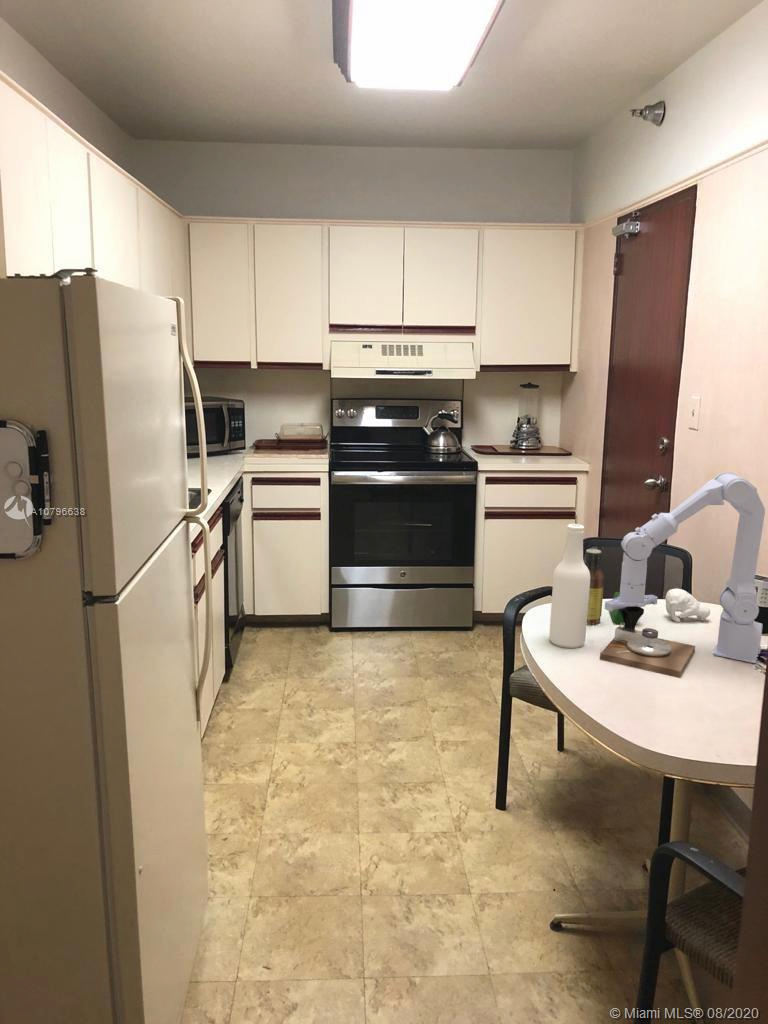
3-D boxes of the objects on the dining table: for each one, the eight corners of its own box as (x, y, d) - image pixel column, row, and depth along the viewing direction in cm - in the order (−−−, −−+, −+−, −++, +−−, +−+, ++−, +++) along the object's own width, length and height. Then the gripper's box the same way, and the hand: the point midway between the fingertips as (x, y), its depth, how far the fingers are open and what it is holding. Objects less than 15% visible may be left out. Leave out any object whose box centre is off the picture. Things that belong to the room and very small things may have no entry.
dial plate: (694, 651, 183) (695, 645, 182) (679, 677, 168) (680, 670, 167) (620, 635, 192) (620, 629, 192) (599, 659, 177) (600, 652, 177)
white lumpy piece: (665, 584, 207) (709, 590, 206) (659, 613, 209) (703, 619, 208) (672, 591, 201) (717, 598, 200) (665, 621, 202) (710, 628, 202)
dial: (675, 647, 181) (677, 629, 180) (663, 660, 173) (665, 642, 172) (622, 634, 188) (624, 617, 187) (608, 646, 180) (610, 629, 179)
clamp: (630, 639, 202) (642, 615, 196) (608, 632, 203) (620, 608, 197) (630, 609, 211) (642, 586, 206) (609, 603, 212) (621, 580, 207)
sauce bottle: (582, 615, 206) (588, 545, 202) (604, 620, 203) (610, 550, 198) (572, 621, 202) (577, 550, 197) (594, 627, 198) (600, 554, 194)
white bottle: (553, 648, 183) (562, 529, 176) (545, 635, 191) (553, 521, 185) (589, 649, 183) (599, 529, 177) (579, 635, 192) (588, 521, 185)
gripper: (620, 590, 175) (615, 644, 178) (668, 583, 181) (663, 636, 183) (600, 581, 181) (596, 634, 184) (647, 575, 187) (643, 626, 190)
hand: (628, 634), depth 184 cm, fingers closed, pressing on dial
